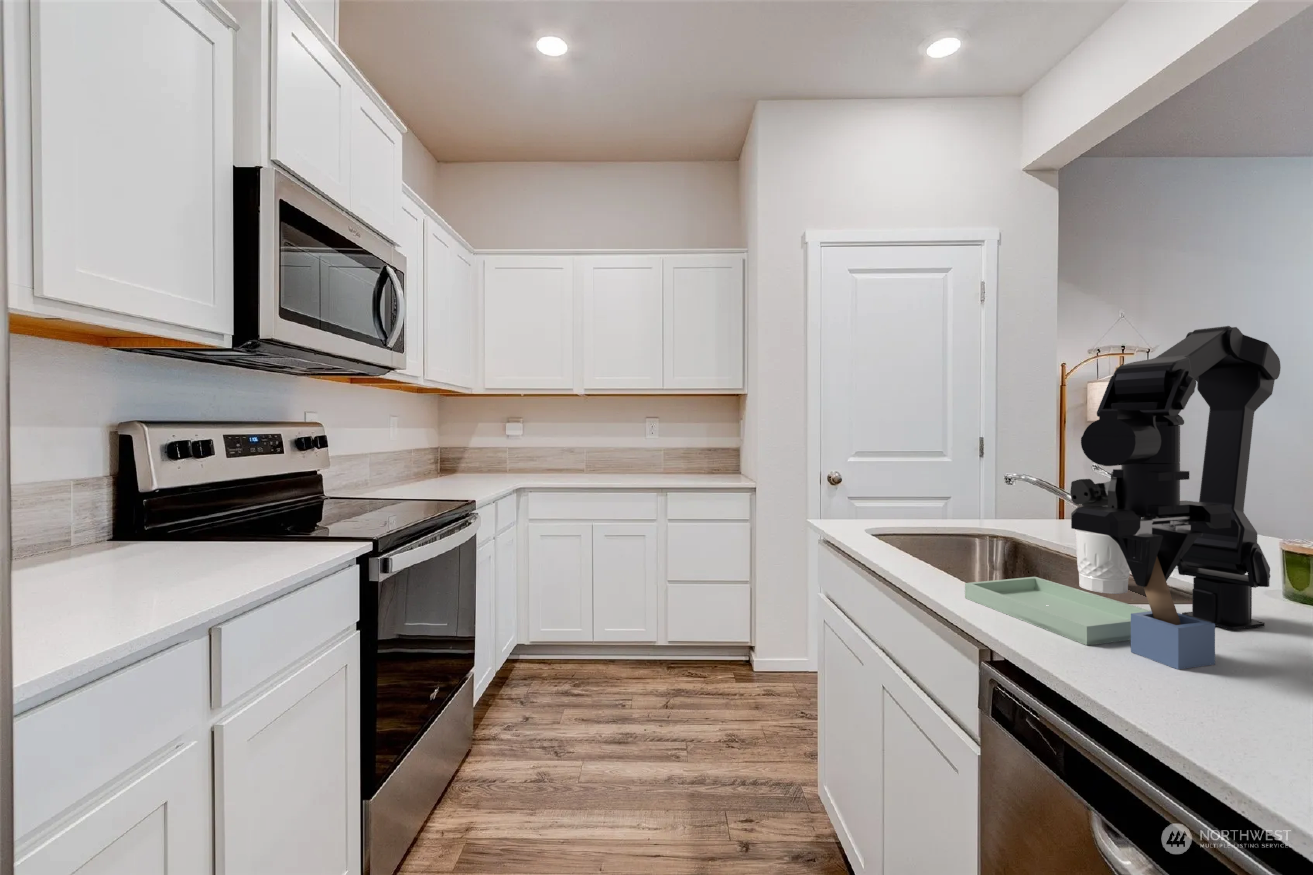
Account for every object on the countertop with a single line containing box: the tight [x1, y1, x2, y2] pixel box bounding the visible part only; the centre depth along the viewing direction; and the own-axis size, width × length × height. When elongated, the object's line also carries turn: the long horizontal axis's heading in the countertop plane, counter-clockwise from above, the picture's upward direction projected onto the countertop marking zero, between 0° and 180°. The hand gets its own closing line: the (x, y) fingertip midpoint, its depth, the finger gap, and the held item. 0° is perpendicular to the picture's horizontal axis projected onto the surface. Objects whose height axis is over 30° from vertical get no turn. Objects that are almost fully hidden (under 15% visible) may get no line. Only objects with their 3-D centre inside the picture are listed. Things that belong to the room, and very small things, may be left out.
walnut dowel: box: [1143, 557, 1181, 625], centre depth 75 cm, size 2×6×10 cm, turn 13°
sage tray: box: [964, 576, 1151, 646], centre depth 91 cm, size 14×22×2 cm, turn 13°
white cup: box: [1074, 529, 1131, 595], centre depth 103 cm, size 8×8×10 cm
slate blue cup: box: [1130, 610, 1216, 670], centre depth 74 cm, size 6×6×5 cm
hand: (1149, 585), depth 76 cm, fingers closed on walnut dowel, 2 cm apart
